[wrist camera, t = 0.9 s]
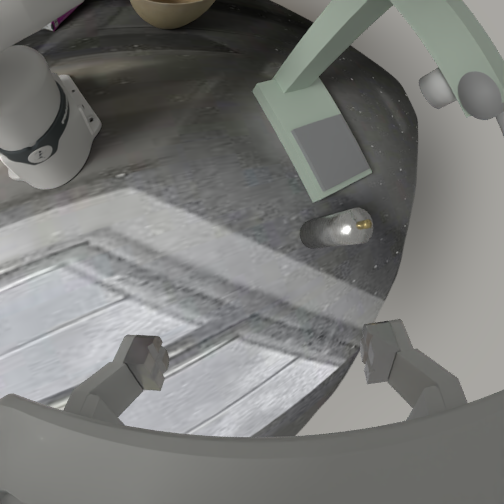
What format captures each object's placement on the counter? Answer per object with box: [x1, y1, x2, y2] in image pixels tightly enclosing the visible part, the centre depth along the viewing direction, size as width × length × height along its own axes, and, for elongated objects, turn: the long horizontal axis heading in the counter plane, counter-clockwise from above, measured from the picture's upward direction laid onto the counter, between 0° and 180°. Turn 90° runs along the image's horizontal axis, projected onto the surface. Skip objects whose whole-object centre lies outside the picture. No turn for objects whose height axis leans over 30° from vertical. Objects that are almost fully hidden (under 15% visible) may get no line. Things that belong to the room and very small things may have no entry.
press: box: [252, 0, 504, 202], centre depth 36 cm, size 38×14×39 cm, turn 28°
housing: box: [300, 208, 373, 249], centre depth 46 cm, size 5×5×16 cm
